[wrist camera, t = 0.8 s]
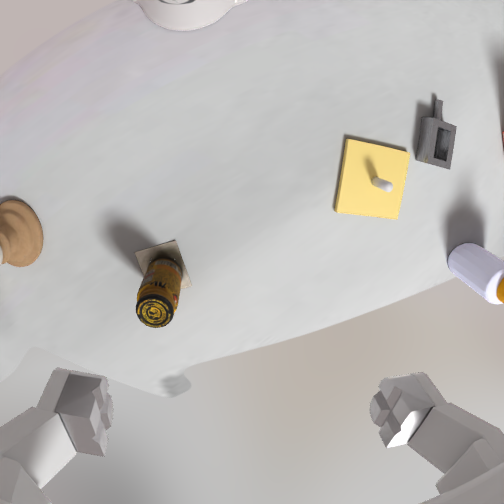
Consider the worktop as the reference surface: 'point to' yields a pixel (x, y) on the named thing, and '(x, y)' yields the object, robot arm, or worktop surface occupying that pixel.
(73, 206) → the worktop surface
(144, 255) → the condiment
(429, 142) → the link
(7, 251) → the candle holder
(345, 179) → the keeper
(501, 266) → the soap bottle
